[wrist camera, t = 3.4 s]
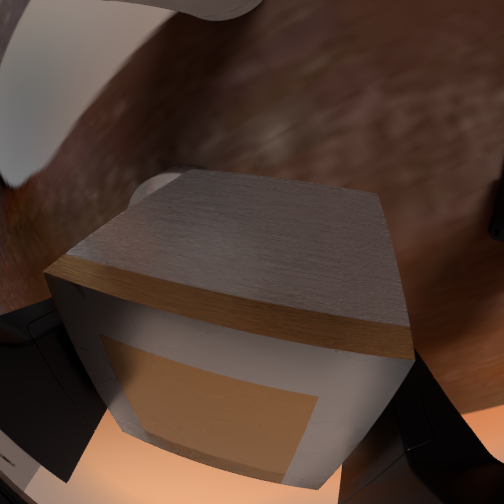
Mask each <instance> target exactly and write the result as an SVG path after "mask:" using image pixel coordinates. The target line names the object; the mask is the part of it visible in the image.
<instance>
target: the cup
mask: <svg viewBox="0 0 504 504" xmlns="http://www.w3.org/2000/svg"><path fill="white" fill-rule="evenodd" d="M104 1H121V2H129V3H136V4H143V5H149V6H155V7H160V8H165V9H170V10H175V11H179V12H183V13H188V14H190V15H193V16H195V17H198V18H201V19H204V20H210V21H222V20H228V19H233V18H236V17H239V16H241V15H243V14H245V13H247V12H249V11H251V10H252V9H253V8H255V7H256V6H257V5H258V4H260V3H261V2H262V0H104Z"/></svg>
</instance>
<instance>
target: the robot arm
mask: <svg viewBox="0 0 504 504" xmlns="http://www.w3.org/2000/svg"><path fill="white" fill-rule="evenodd" d="M496 229H497V231H496V233H494V234H493V232H494V230H496ZM488 233H489V235H490V236H491V238H492V239H494V240H498V241H502V242H504V174H503V177H502V181H501V185H500V189H499V193H498V196H497V200H496V203H495V207H494V214H493V217H492V220H491V223H490V226H489V230H488ZM413 348H414V347H413ZM414 355H415V362H414V364H413V365H412V367H411V369H410V370H409V372H408V374H407V375H406V377H405V379H404V380H403V382H402V383H401V385H400V387H399V388H398V390H397V391H396V393H395V394H394V396H393V397H392V399H391V400H390V402H389V403H388V405H387V406H386V408H385V409H384V410H383V412H382V413H381V415H380V416H379V417H378V419H377V420H376V422H375V423H374V424H373V426H372V427H371V428H370V430H369V431H368V432H367V434H366V435H365V436H364V437H363V439H362V440H361V441H360V443H359V444H358V445H357V446H356V448H355V449H354V450H353V451H352V452H351V454H350V455H349V456H348V457H347V458H346V460H345V461H344V462H343V463H342V472H341V482H340V489H339V498H338V504H504V463H502V462H500V461H499V460H497V459H496V458H494V457H493V456H492V455H491V454H490V453H489V452H488V451H487V449H486V448H485V447H484V445H483V444H482V443H481V441H480V440H479V439H478V437H477V436H476V435H475V433H474V432H473V431H472V429H471V428H470V427H469V425H468V424H467V423H466V421H465V420H464V419H463V418H462V416H461V415H460V413H459V412H458V411H457V409H456V408H455V407H454V405H453V404H452V403H451V401H450V400H449V398H448V397H447V395H446V394H445V392H444V391H443V390H442V388H441V387H440V385H439V383H438V382H437V380H436V379H435V378H433V377H434V376H433V375H432V373H431V372H430V370H429V369H428V367H427V366H426V364H425V363H424V361H423V360H422V358H421V357H420V355H419V354H418V352H417V351H416V350H415V348H414ZM106 410H107V406H106V405H105V403H104V401H103V400H102V398H101V396H100V395H99V393H98V391H97V389H96V388H95V386H94V384H93V382H92V380H91V379H90V377H89V375H88V373H87V371H86V369H85V367H84V366H83V364H82V362H81V360H80V358H79V356H78V354H77V352H76V350H75V348H74V346H73V343H72V341H71V339H70V337H69V335H68V333H67V330H66V328H65V326H64V324H63V321H62V319H61V317H60V314H59V312H58V310H57V307H56V305H55V302H54V300H53V297H51V298H49V299H46V300H43V301H41V302H38V303H35V304H32V305H29V306H26V307H23V308H20V309H17V310H14V311H11V312H8V313H5V314H2V315H0V504H37V503H36V502H35V501H34V500H32V499H31V498H30V497H29V496H28V495H27V494H25V493H24V490H25V488H26V487H27V485H28V484H29V482H30V481H31V479H32V478H33V476H34V475H35V473H36V472H37V470H38V468H39V467H40V466H41V465H42V466H43V467H45V468H46V469H47V470H49V471H50V472H51V473H52V474H54V475H55V476H57V477H58V478H59V479H61V480H62V481H64V482H65V483H67V482H68V481H69V479H70V477H71V475H72V473H73V471H74V469H75V467H76V465H77V463H78V462H79V460H80V458H81V456H82V454H83V452H84V450H85V448H86V447H87V445H88V443H89V441H90V439H91V437H92V436H93V434H94V432H95V431H94V430H96V428H97V426H98V424H99V423H100V421H101V419H102V417H103V415H104V413H105V412H106Z"/></svg>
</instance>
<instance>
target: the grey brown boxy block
mask: <svg viewBox="0 0 504 504" xmlns="http://www.w3.org/2000/svg"><path fill="white" fill-rule="evenodd" d="M43 273H44V275H45V278H46V281H47V284H48V287H49V289H50V292H51V294H52V297H53V300H54V302H55V305H56V307H57V310H58V312H59V314H60V317H61V319H62V321H63V324H64V326H65V328H66V330H67V333H68V335H69V337H70V339H71V341H72V343H73V346H74V348H75V350H76V352H77V354H78V356H79V358H80V360H81V362H82V364H83V366H84V367H85V369H86V371H87V373H88V375H89V377H90V379H91V380H92V382H93V384H94V386H95V388H96V389H97V391H98V393H99V395H100V396H101V398H102V400H103V401H104V403H105V405H106V406H107V408H108V410H109V411H110V413H111V414H112V416H113V417H114V419H115V421H116V422H117V423H118V425H119V427H120V428H121V430H122V431H123V432H125V433H127V434H129V435H131V436H134V437H136V438H138V439H140V440H142V441H145V442H147V443H149V444H152V445H154V446H157V447H159V448H161V449H164V450H166V451H169V452H171V453H174V454H177V455H179V456H182V457H185V458H188V459H190V460H193V461H196V462H199V463H202V464H205V465H208V466H212V467H215V468H218V469H222V470H225V471H228V472H232V473H236V474H239V475H243V476H247V477H252V478H256V479H260V480H264V481H269V482H273V483H279V484H284V485H289V486H295V487H301V488H308V489H315V490H318V489H319V488H320V487H321V486H322V485H323V484H324V483H325V482H326V481H327V480H328V479H329V478H330V477H331V476H332V475H333V473H334V472H335V471H336V470H337V469H338V468H339V467H340V465H341V464H342V463H343V462H344V461H345V460H346V458H347V457H348V456H349V455H350V454H351V452H352V451H353V450H354V449H355V448H356V446H357V445H358V444H359V443H360V441H361V440H362V439H363V437H364V436H365V435H366V434H367V432H368V431H369V430H370V428H371V427H372V426H373V424H374V423H375V422H376V420H377V419H378V417H379V416H380V415H381V413H382V412H383V410H384V409H385V408H386V406H387V405H388V403H389V402H390V400H391V399H392V397H393V396H394V394H395V393H396V391H397V390H398V388H399V387H400V385H401V383H402V382H403V380H404V379H405V377H406V375H407V374H408V372H409V370H410V369H411V367H412V365H413V364H414V362H415V355H414V348H413V341H412V335H411V329H410V323H409V318H408V312H407V307H406V302H405V297H404V292H403V287H402V283H401V278H400V274H399V270H398V266H397V262H396V257H395V254H394V250H393V246H392V242H391V238H390V235H389V231H388V228H387V224H386V221H385V217H384V214H383V211H382V207H381V204H380V201H379V198H378V195H377V194H374V193H369V192H364V191H358V190H353V189H347V188H341V187H335V186H329V185H323V184H316V183H310V182H303V181H296V180H289V179H282V178H274V177H266V176H258V175H249V174H240V173H230V172H220V171H209V170H198V169H191V170H189V171H187V172H186V173H184V174H182V175H181V176H179V177H177V178H176V179H174V180H172V181H171V182H169V183H168V184H166V185H164V186H163V187H161V188H159V189H158V190H156V191H155V192H153V193H152V194H150V195H148V196H147V197H145V198H144V199H142V200H141V201H139V202H138V203H136V204H135V205H133V206H132V207H130V208H128V209H127V210H126V211H124V212H123V213H121V214H120V215H118V216H117V217H115V218H114V219H112V220H111V221H109V222H108V223H107V224H105V225H104V226H102V227H101V228H99V229H98V230H97V231H95V232H94V233H92V234H91V235H90V236H88V237H87V238H86V239H84V240H83V241H82V242H80V243H79V244H77V245H76V246H75V247H73V248H72V249H71V250H70V251H68V252H67V253H66V254H64V255H63V256H62V257H60V258H59V259H58V260H57V261H55V262H54V263H53V264H51V265H50V266H49V267H48V268H46V269H45V270H44V271H43Z"/></svg>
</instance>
